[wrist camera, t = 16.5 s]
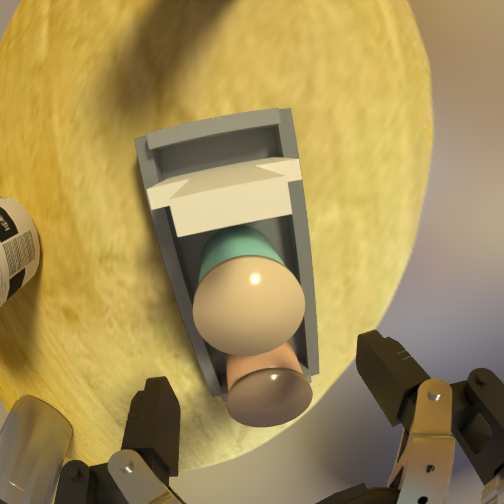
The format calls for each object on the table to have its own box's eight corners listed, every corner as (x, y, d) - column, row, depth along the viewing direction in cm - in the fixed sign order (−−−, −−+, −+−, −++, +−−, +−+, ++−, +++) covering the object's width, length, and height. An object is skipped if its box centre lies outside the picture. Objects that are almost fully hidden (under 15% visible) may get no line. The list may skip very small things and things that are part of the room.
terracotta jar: (230, 371, 24) (237, 433, 18) (215, 322, 22) (217, 385, 16) (292, 358, 25) (313, 416, 18) (285, 307, 23) (311, 365, 16)
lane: (212, 379, 26) (212, 402, 23) (143, 140, 18) (130, 138, 15) (312, 357, 26) (322, 379, 23) (282, 113, 18) (293, 106, 15)
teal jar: (186, 242, 20) (172, 287, 13) (261, 210, 20) (285, 241, 13) (218, 307, 22) (221, 368, 15) (287, 279, 22) (316, 332, 15)
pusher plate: (170, 192, 18) (106, 253, 7) (167, 178, 18) (95, 219, 7) (276, 171, 19) (363, 201, 7) (273, 157, 18) (359, 165, 7)
